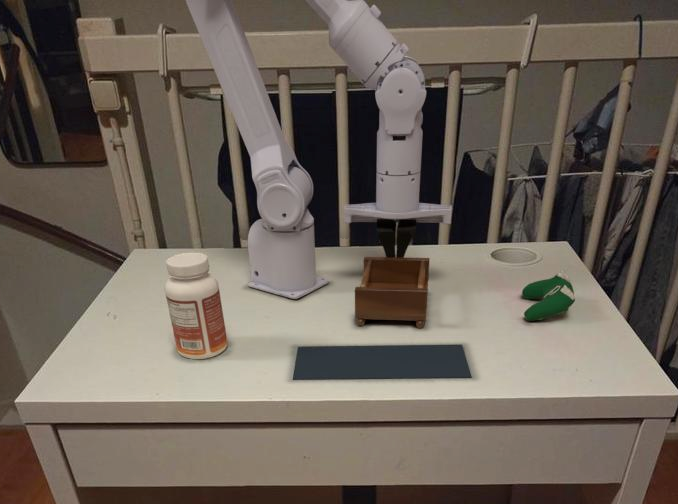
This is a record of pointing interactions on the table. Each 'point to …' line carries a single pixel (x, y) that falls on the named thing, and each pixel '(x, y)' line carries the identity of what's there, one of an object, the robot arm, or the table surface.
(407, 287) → the brown wooden box
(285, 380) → the table surface
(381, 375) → the mat
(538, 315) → the green slippers
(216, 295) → the pill bottle
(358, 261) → the table surface
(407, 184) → the robot arm
